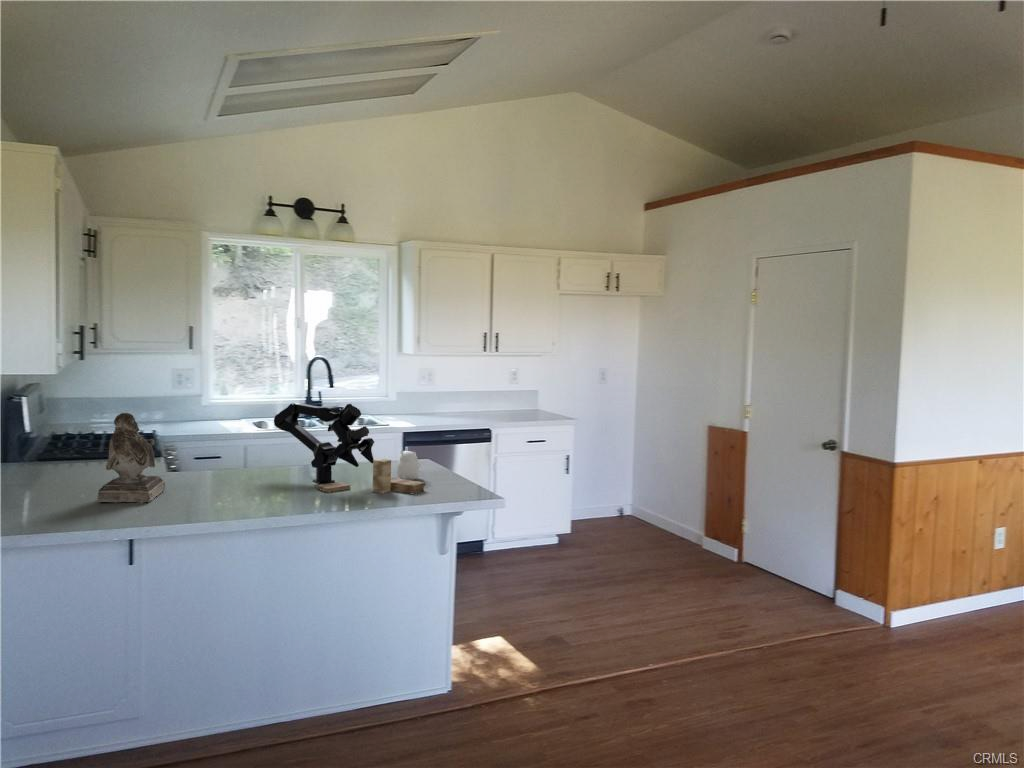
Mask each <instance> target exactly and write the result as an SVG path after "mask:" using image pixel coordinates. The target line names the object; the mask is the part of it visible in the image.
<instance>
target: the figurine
mask: <svg viewBox="0 0 1024 768" xmlns="http://www.w3.org/2000/svg"><path fill="white" fill-rule="evenodd" d="M421 466H422V462H420V461H419V460H418V456H417V453H416V451H410V450H401V451H400V456H399V459H398V463H397V465H396V476H397V477H398V479H405V480H411V481H415V480H416V479H418V478H419V477H420V476H421V474H422V470H421V469H420V467H421Z"/></svg>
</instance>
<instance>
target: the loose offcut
mask: <svg viewBox="0 0 1024 768" xmlns="http://www.w3.org/2000/svg"><path fill="white" fill-rule="evenodd" d="M316 488H318V489H321V490H323V491H322V492H324V491H326V492H328V493H330V492H329V491H334V492H338V491H337V490H341V491H346V490H345V489H347V490H350V489H351V484H348V483H345V482H341V481H336V482H328V483H321V484H317V485H316ZM318 489H317V490H318ZM321 490H320V491H321ZM326 492H325V493H326Z"/></svg>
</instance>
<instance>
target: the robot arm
mask: <svg viewBox="0 0 1024 768" xmlns="http://www.w3.org/2000/svg"><path fill="white" fill-rule="evenodd" d="M300 415H304V416H311V417H315V418H318V420H319V421H321V422H322V421H323V422H325V423H329V422H332V423H330V424H328V428H327V432H334V434H335V435H336V437H337V438H338V439H337V440H336V441H337V442H338V445H337V446H334V445H333V443H331V442H329V441H328V442H321V441H320V440H319V439H317V438H316V437H315V436H314V435H313V434H311V433H310V432H309V431H308V430H307V429H306V428H304V427H303V426H301V424H300V423H299V420H298V419H299V418H300ZM361 416H362V411H361V410H360V408H358V407H356V406H354V405H353V404H352V403H347V404H346V405H345V406H344V408H343V409H340V407H339V406H335V405H334V406H317V405H314V404H313V405H312V404H307V403H301V402H292V403H290V404H289V405H288V406H287V407H286V408H284V409H283V410H281V411H280V412H279V413H278V414H276V415H275V416H274V419H273V425H274V426H275V427H276V428H277V429H279V430H281V431H283V432H286V433H287V432H288V433H290V434H291V435H292V436H293V437H294V438H296V439H297V440H298V441H300V443H302V444H303V445H304V446H305V447H307V448H308V450H310V451H311V452H312V453H313V457H314V458H313V459H312V460H311V462H310V464H311V467H312V468H315V470H316V471H315V474H316V475H315V477H316V478H315V479H312V482H314V481H316V482H315V483H317V482H319V483H318V484H327V483H326V482H328V483H336V482H335V479H333V478H332V473H333V472H332V467H333V466H336V464H337V461H338V459H339V460H342V461H344V462H346V463H348V464H349V465H352V466H354V467H356V468H358V467H359V462H358V461H357V459H356V457H355V456H354V454H353V451H354V450H358V451H359V452H360V455H362V456H363V457H364V458H365V459H366V460H367V461H368V462H369V463H371V464H373V460H375V459H374V455H373V450H372V448H373V446H374V444H375V441H374V439H373V438H372V437H368V435H369V433H370V429H369V428H368V427H367V426H365V425H364V426H362V427H360V428H358V429H356V430H354V429H351V428H350V426H353V425H354V424H355V423H356V421H357V420H358V419H359V418H360V417H361ZM365 437H367V438H365ZM363 438H364V439H363ZM362 439H363V440H362Z"/></svg>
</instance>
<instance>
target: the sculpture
mask: <svg viewBox="0 0 1024 768" xmlns="http://www.w3.org/2000/svg"><path fill="white" fill-rule="evenodd" d="M113 424H114V426H115V428H114V431H113V434H112V435H111V437H110V439H109V443H108V444H109V446H108V457H107V462H106V465H105V466H106V467H105V469H106V470H107V471H110V470H113V471H114V472H116V473H117V474H118V477H115V478H113V479H111V480H110V481H108V482H106V483H105V484H104V485H102V487H101V488H100V489H98V491H97V492H98V493H97V501H98V503H100V502H148V503H151V502H152V501H154V500H155V499H156V498H157V497H158V496H157V495H159V494H160V493H161V492H162V491H164V492H165V489H166V483H165V481H164V479H163V478H161V476H159V475H144V474H142V473H143V472H144V470H145V469H147V468H149V467H150V468H154V467H156V464H155V463H156V461H155V459H156V458H155V452H154V448H153V446H154V445H155V440H154V439H153V438H149V439H147V438H143V436H141V434H140V433H139V431H140V427H139V425H138V422H136V419H135V417H134V415H133V414H132V413H129V412H121V413H120V414H118V415H116V416H115V418H114V420H113ZM161 494H162V493H161ZM161 494H160V495H161ZM160 495H159V496H160ZM156 496H157V497H156ZM155 497H156V498H155ZM154 498H155V499H154ZM153 499H154V500H153ZM151 500H152V501H151ZM150 501H151V502H150Z"/></svg>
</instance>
